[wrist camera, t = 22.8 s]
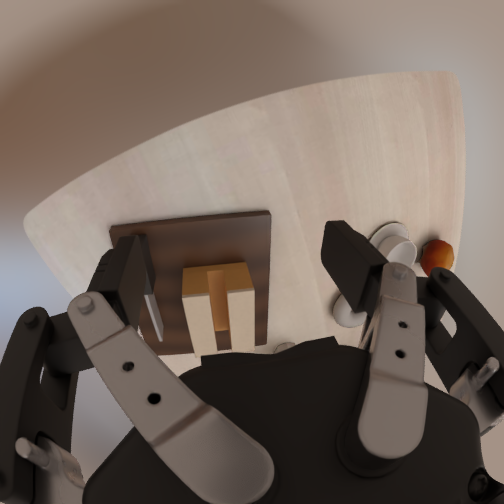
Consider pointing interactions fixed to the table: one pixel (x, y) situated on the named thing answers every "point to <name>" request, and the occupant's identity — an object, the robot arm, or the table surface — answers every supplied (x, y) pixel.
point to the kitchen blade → (151, 287)
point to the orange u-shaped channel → (219, 306)
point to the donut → (347, 314)
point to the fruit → (436, 256)
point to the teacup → (395, 244)
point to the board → (196, 255)
